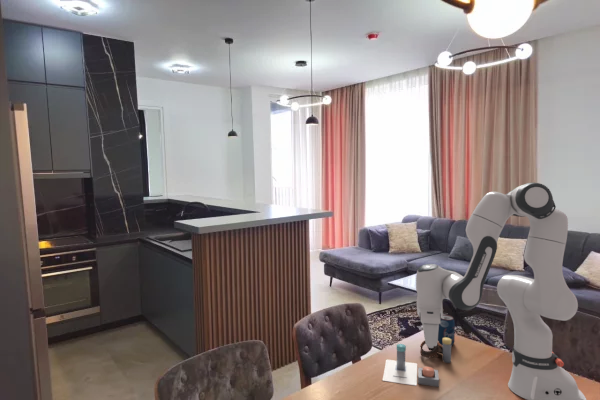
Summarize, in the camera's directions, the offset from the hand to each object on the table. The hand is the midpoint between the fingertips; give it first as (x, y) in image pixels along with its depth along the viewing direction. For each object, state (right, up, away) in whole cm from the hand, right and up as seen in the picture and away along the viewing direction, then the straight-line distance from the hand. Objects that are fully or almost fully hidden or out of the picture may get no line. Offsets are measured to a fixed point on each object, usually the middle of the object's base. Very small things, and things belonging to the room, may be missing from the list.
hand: (430, 346), depth 137 cm
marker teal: (-8, -12, +9) cm, 18 cm away
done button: (0, -13, +1) cm, 13 cm away
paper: (-9, -13, +7) cm, 17 cm away
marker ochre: (+12, -12, +15) cm, 22 cm away
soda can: (+17, -11, +30) cm, 36 cm away
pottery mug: (+7, -12, +19) cm, 24 cm away
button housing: (-1, -13, +1) cm, 13 cm away
